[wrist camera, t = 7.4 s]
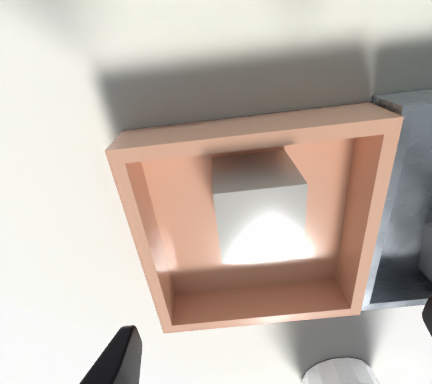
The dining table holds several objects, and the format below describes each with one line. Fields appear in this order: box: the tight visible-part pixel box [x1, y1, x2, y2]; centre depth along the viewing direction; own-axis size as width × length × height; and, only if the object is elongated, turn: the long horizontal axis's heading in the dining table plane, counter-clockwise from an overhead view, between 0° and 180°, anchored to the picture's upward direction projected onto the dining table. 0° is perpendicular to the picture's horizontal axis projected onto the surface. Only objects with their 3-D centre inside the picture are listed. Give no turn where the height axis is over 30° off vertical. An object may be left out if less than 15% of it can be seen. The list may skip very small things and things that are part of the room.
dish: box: [105, 102, 404, 333], centre depth 17 cm, size 13×13×3 cm
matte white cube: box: [212, 150, 308, 264], centre depth 15 cm, size 4×4×4 cm
